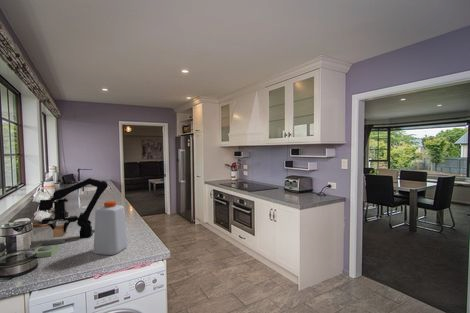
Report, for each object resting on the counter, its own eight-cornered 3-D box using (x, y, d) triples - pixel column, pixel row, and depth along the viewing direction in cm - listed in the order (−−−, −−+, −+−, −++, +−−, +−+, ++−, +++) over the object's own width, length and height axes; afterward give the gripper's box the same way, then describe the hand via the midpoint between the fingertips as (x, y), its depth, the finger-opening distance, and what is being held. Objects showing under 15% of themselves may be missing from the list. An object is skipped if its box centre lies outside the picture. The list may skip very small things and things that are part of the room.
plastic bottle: (114, 256, 138) (113, 205, 137) (90, 254, 141) (88, 204, 140) (130, 245, 153) (129, 199, 152) (108, 244, 156) (107, 199, 155)
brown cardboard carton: (67, 232, 168) (66, 223, 168) (62, 236, 160) (61, 227, 160) (58, 233, 167) (58, 224, 167) (53, 237, 159) (52, 228, 159)
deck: (66, 242, 160) (65, 237, 160) (51, 256, 139) (51, 250, 139) (42, 244, 156) (41, 239, 156) (23, 258, 136) (23, 253, 136)
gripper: (80, 205, 174) (80, 228, 174) (48, 207, 169) (49, 230, 169) (74, 209, 163) (75, 233, 163) (40, 211, 158) (41, 236, 159)
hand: (60, 233), depth 164 cm, fingers closed on brown cardboard carton, 5 cm apart
